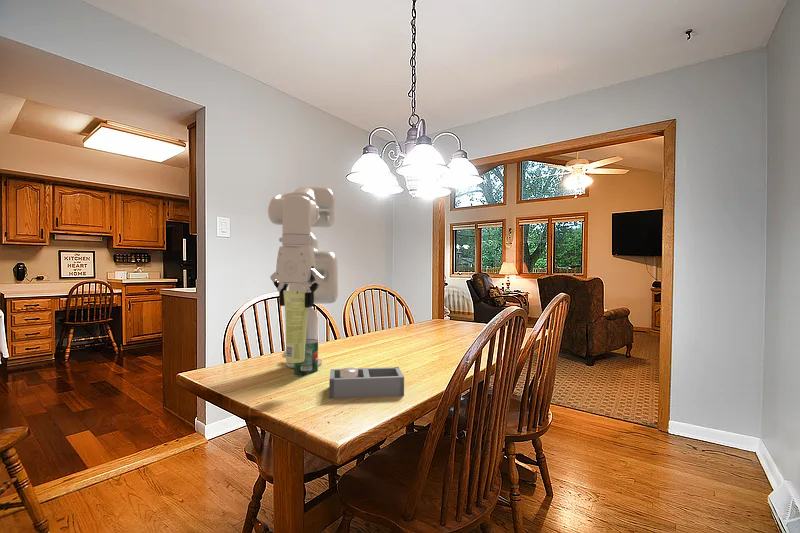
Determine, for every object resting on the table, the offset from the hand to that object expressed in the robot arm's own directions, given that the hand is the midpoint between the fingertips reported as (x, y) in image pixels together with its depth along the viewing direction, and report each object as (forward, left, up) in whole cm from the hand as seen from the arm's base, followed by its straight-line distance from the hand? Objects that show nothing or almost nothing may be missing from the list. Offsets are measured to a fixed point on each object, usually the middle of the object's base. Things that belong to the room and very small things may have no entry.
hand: (296, 305), depth 106 cm
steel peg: (+13, +6, -24) cm, 28 cm away
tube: (0, 0, -16) cm, 16 cm away
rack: (+17, +9, -25) cm, 32 cm away
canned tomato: (-10, +21, -25) cm, 34 cm away
